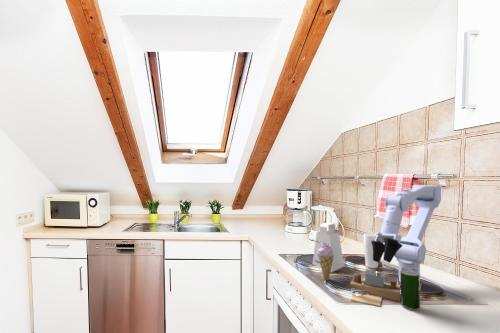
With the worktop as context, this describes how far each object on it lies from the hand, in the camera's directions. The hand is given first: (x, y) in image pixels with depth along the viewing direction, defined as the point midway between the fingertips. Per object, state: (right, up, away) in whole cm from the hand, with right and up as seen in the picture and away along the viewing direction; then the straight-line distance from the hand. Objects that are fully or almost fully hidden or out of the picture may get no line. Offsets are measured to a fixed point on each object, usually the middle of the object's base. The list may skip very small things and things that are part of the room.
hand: (381, 261), depth 96 cm
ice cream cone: (-15, -13, +17) cm, 26 cm away
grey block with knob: (0, -10, +4) cm, 11 cm away
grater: (-9, -14, +33) cm, 37 cm away
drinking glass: (+11, -14, +32) cm, 37 cm away
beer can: (+6, -13, -7) cm, 16 cm away
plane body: (0, -13, +4) cm, 13 cm away
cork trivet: (-6, -13, -1) cm, 14 cm away
